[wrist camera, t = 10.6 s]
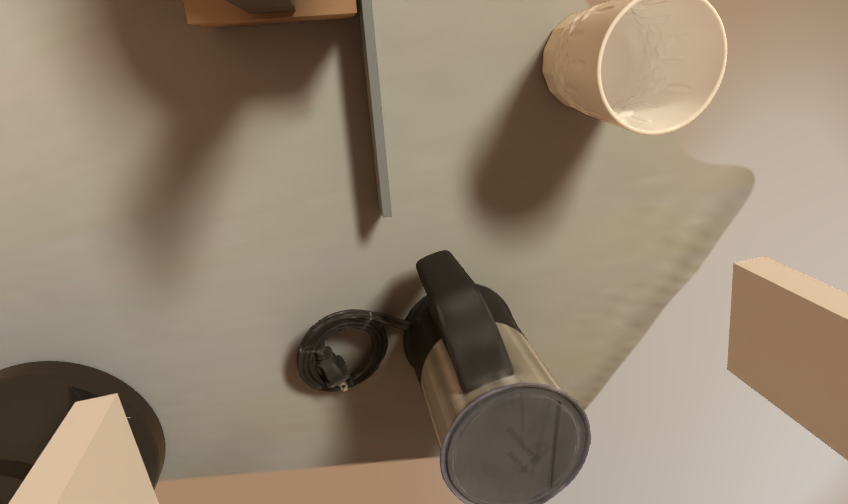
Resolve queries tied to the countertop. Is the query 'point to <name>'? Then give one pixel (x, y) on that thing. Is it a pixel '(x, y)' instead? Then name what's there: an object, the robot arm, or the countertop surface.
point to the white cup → (638, 62)
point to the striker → (264, 11)
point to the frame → (374, 105)
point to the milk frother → (470, 388)
